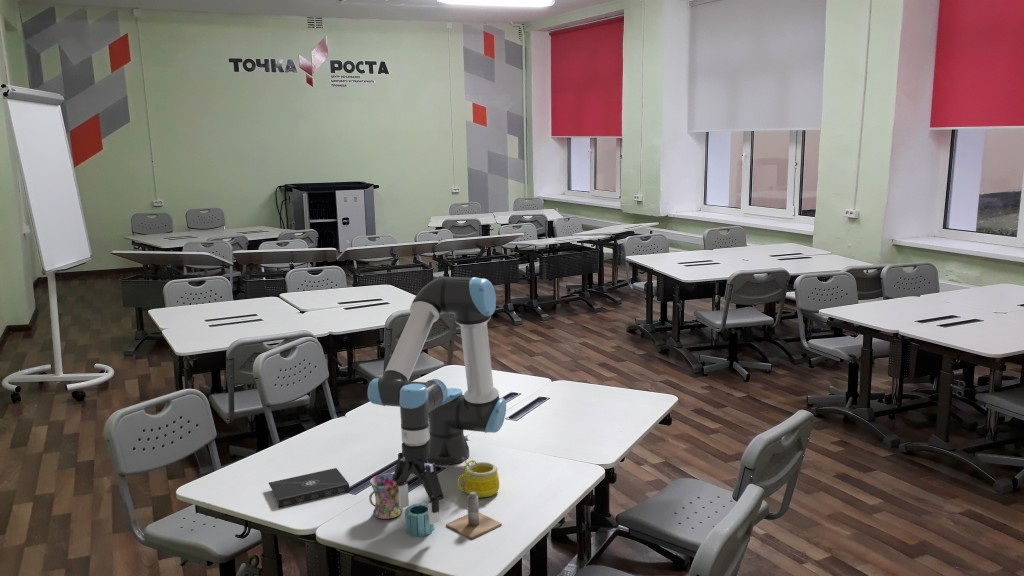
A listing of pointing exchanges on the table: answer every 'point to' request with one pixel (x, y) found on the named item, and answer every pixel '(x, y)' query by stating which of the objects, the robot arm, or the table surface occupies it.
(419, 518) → the teal slatted pot
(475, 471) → the mug
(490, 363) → the robot arm
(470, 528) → the peg on square base
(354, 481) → the table surface
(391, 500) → the mug
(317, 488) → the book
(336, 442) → the table surface
